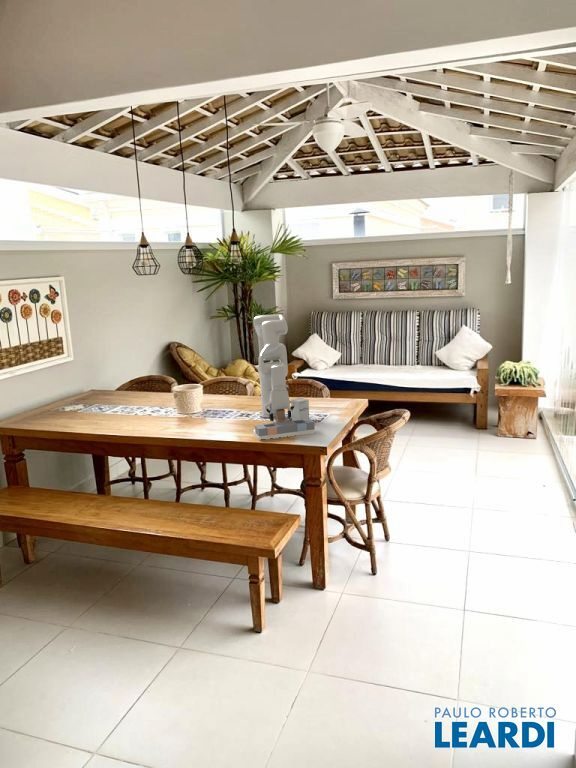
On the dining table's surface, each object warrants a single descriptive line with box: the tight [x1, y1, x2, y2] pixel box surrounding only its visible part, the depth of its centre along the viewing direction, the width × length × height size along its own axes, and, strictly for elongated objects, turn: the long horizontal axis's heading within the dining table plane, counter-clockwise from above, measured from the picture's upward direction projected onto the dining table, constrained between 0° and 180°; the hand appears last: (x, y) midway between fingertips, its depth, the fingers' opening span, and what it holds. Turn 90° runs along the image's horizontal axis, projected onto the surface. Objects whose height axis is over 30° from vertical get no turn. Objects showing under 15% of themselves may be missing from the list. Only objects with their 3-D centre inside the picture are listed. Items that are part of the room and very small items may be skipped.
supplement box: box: [290, 397, 310, 421], centre depth 337 cm, size 7×7×13 cm
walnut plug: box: [275, 409, 286, 423], centre depth 318 cm, size 4×4×10 cm
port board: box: [252, 418, 316, 441], centre depth 315 cm, size 14×30×6 cm, turn 107°
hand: (280, 419), depth 318 cm, fingers open, 9 cm apart
